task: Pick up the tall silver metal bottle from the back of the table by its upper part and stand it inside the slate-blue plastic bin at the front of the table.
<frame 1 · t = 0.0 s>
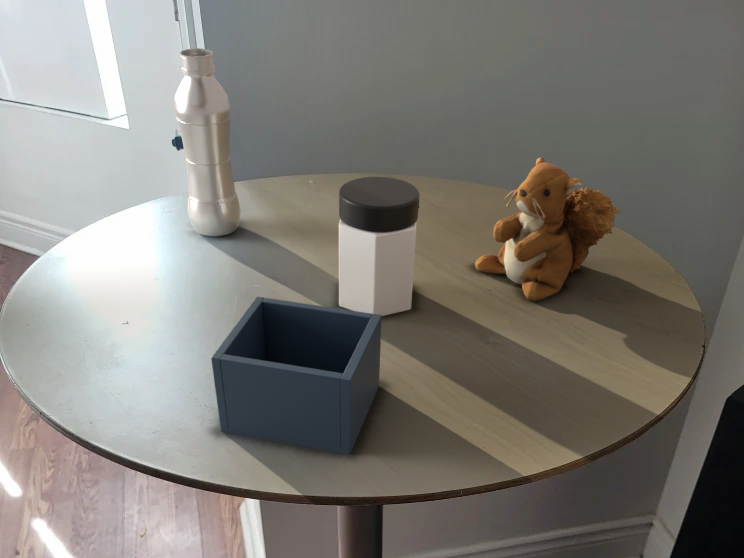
silver metal bottle: (216, 232, 98), on the table
stuffed squirrel: (540, 277, 91), on the table
bin: (303, 410, 70), on the table
jar: (375, 301, 86), on the table
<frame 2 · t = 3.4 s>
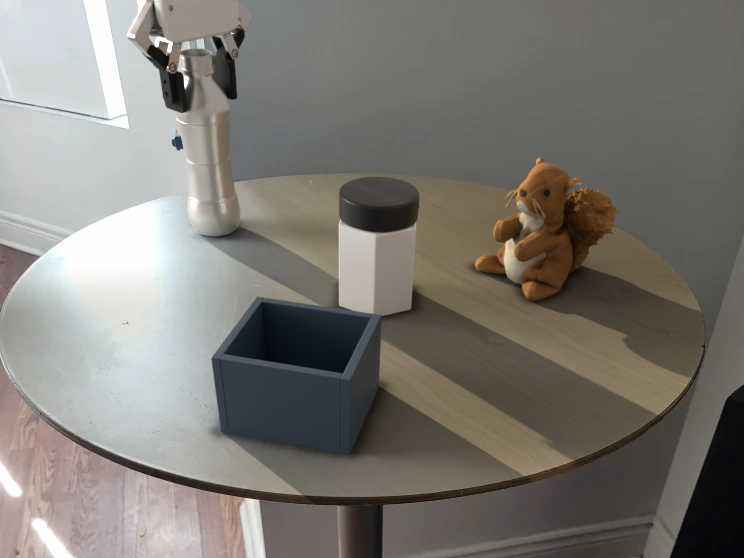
hand: (201, 101, 87), 15 cm above the table, tool pointing down, fingers closed on silver metal bottle, 6 cm apart
silver metal bottle: (216, 232, 98), on the table, touching gripper
everything else where it was.
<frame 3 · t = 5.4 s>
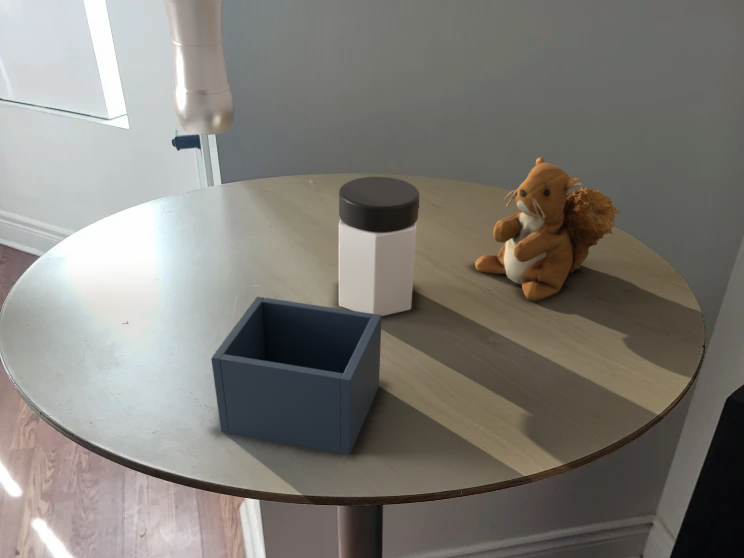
silver metal bottle: (207, 134, 86), point 13 cm above the table, touching gripper
everything else where it was.
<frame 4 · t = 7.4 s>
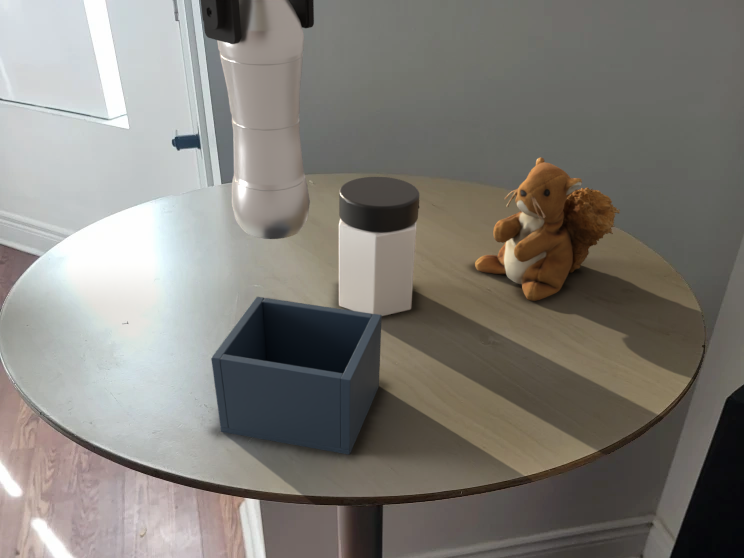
hand: (260, 29, 56), 29 cm above the table, tool pointing down, fingers closed on silver metal bottle, 6 cm apart
silver metal bottle: (272, 234, 66), point 13 cm above the table, touching gripper
everything else where it was.
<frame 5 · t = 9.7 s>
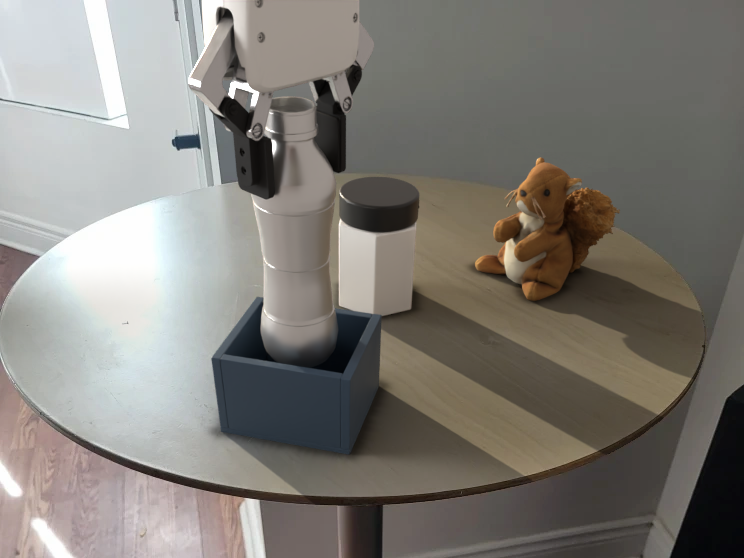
hand: (293, 177, 56), 21 cm above the table, tool pointing down, fingers closed on silver metal bottle, 6 cm apart
silver metal bottle: (300, 358, 67), point 6 cm above the table, touching gripper
everything else where it was.
when the fingers open (16 cm above the table, at t = 11.5 s): silver metal bottle stays where it is, resting on bin.
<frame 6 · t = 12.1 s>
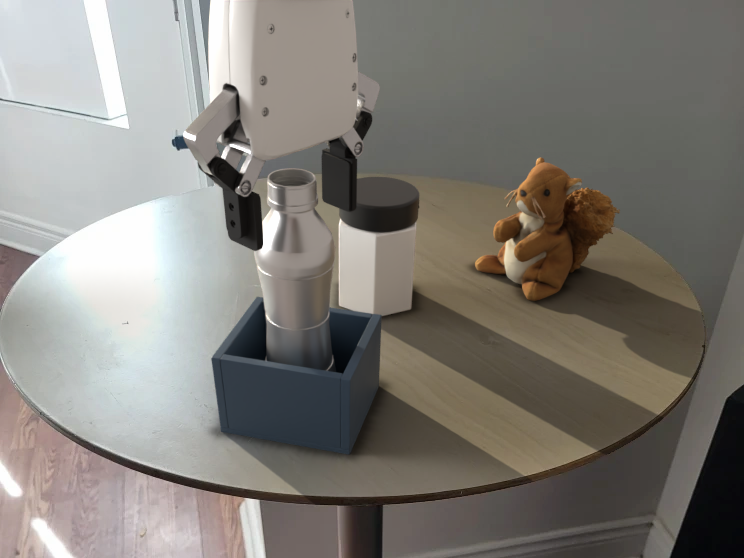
hand: (294, 224, 59), 17 cm above the table, tool pointing down, fingers open, 9 cm apart
silver metal bottle: (301, 405, 70), point 1 cm above the table, touching bin
everything else where it was.
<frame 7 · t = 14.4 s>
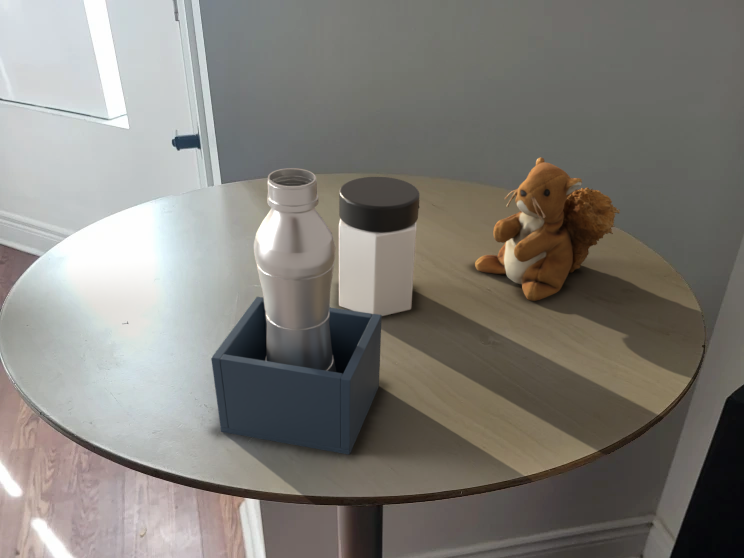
nothing on the table moved.
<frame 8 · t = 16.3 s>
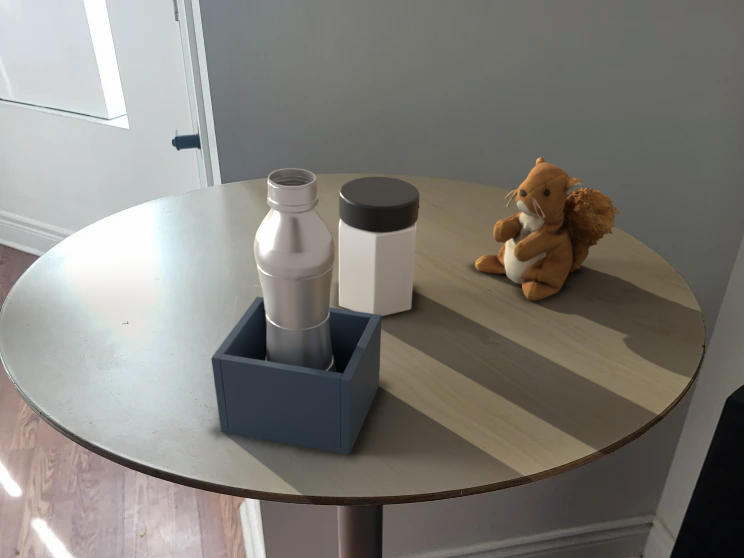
nothing on the table moved.
at the end: silver metal bottle inside the target area in the bin (0.1 cm from its centre), point 0.6 cm above the bin's base; silver metal bottle tilted 0°; the gripper is holding nothing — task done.
